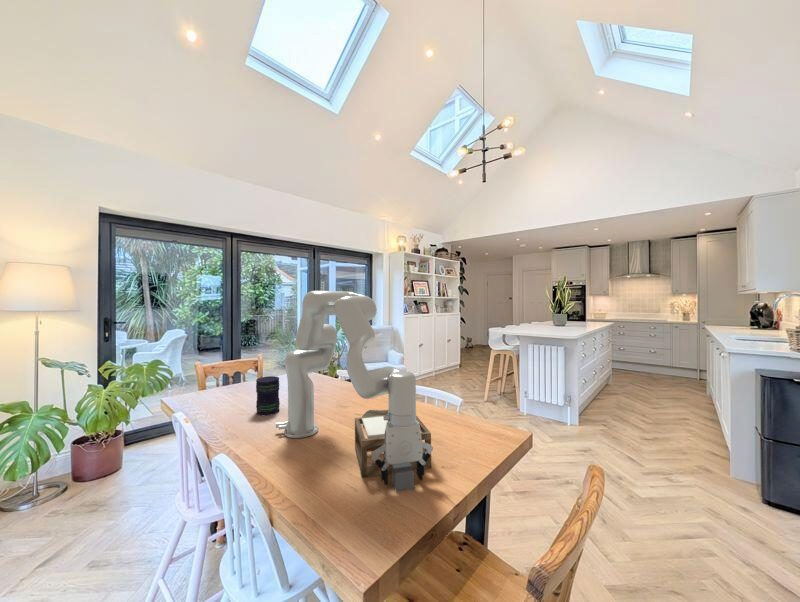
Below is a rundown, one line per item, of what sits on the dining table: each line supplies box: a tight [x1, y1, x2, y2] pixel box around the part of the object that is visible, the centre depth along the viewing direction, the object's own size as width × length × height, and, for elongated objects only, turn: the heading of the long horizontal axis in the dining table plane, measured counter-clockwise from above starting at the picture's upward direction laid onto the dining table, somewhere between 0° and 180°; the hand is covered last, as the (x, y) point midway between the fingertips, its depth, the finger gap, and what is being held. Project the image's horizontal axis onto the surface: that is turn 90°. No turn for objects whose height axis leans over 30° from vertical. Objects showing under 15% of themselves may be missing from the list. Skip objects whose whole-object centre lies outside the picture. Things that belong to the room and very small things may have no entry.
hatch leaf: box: [362, 416, 388, 438], centre depth 102 cm, size 15×15×5 cm
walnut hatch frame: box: [354, 415, 432, 479], centre depth 103 cm, size 21×18×10 cm
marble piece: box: [361, 409, 389, 417], centre depth 131 cm, size 17×15×4 cm
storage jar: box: [255, 375, 281, 416], centre depth 146 cm, size 10×10×15 cm
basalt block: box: [391, 462, 415, 493], centre depth 88 cm, size 5×5×5 cm
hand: (402, 480), depth 88 cm, fingers open, 9 cm apart
